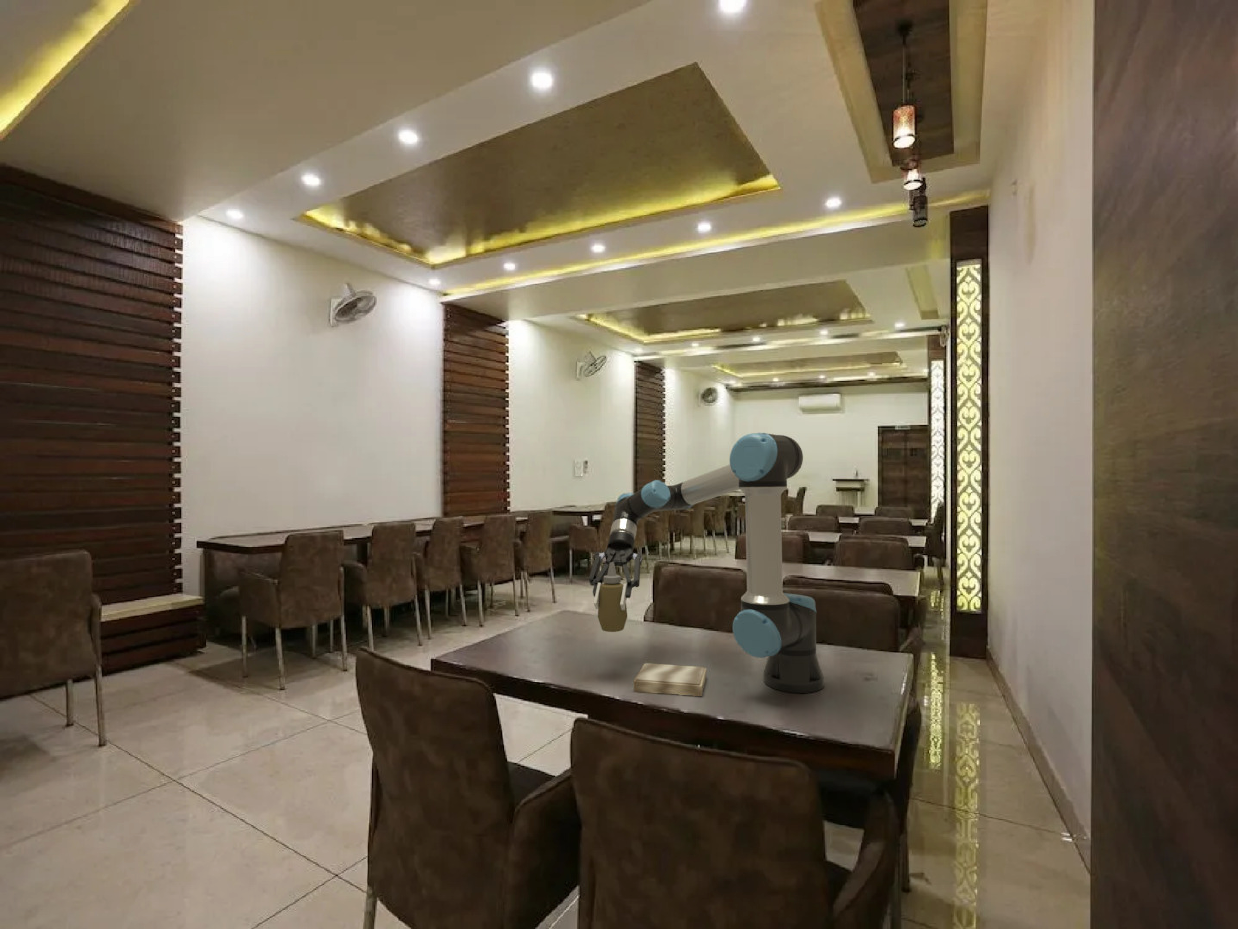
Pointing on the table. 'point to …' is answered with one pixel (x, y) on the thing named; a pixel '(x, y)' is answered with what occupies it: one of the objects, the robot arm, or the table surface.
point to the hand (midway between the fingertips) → (609, 606)
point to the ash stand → (670, 679)
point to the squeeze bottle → (611, 602)
